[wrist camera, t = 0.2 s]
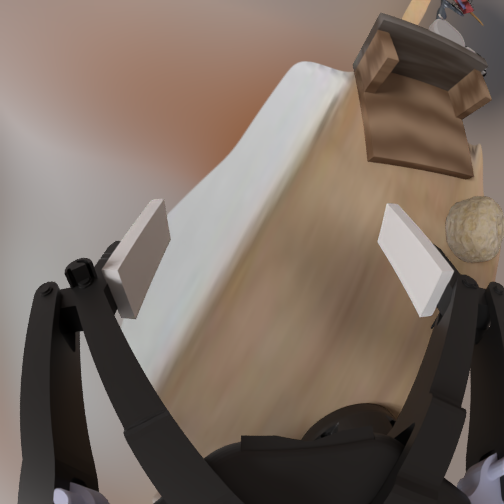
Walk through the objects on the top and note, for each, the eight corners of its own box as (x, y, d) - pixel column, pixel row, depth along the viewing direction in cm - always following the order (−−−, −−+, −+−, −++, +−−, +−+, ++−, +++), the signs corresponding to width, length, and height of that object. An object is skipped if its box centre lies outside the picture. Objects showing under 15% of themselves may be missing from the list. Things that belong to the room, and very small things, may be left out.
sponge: (467, 226, 35) (497, 183, 27) (489, 275, 30) (527, 234, 22) (429, 221, 35) (459, 171, 27) (451, 276, 30) (493, 228, 21)
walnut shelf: (465, 179, 31) (519, 159, 19) (367, 161, 31) (415, 122, 19) (445, 91, 31) (484, 58, 19) (352, 64, 31) (380, 12, 19)
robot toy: (478, 66, 33) (428, 21, 32) (489, 59, 28) (438, 10, 27) (475, 95, 33) (420, 43, 32) (489, 88, 28) (432, 31, 27)
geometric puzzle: (477, 16, 30) (474, -7, 24) (472, 19, 30) (468, -7, 24) (456, 9, 34) (452, -13, 28) (449, 12, 34) (444, -12, 28)
